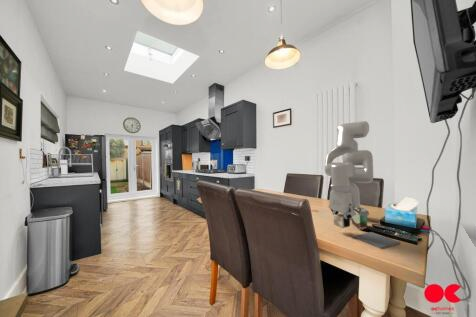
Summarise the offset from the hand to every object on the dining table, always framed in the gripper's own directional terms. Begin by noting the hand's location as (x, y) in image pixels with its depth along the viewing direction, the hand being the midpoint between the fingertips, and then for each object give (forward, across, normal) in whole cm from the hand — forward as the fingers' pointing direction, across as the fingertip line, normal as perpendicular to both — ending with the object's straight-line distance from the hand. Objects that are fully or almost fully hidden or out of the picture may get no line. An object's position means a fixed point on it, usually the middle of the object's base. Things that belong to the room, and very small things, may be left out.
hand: (341, 223), depth 90 cm
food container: (+6, -1, +16) cm, 17 cm away
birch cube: (+1, 0, 0) cm, 1 cm away
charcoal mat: (+5, +12, +7) cm, 14 cm away
